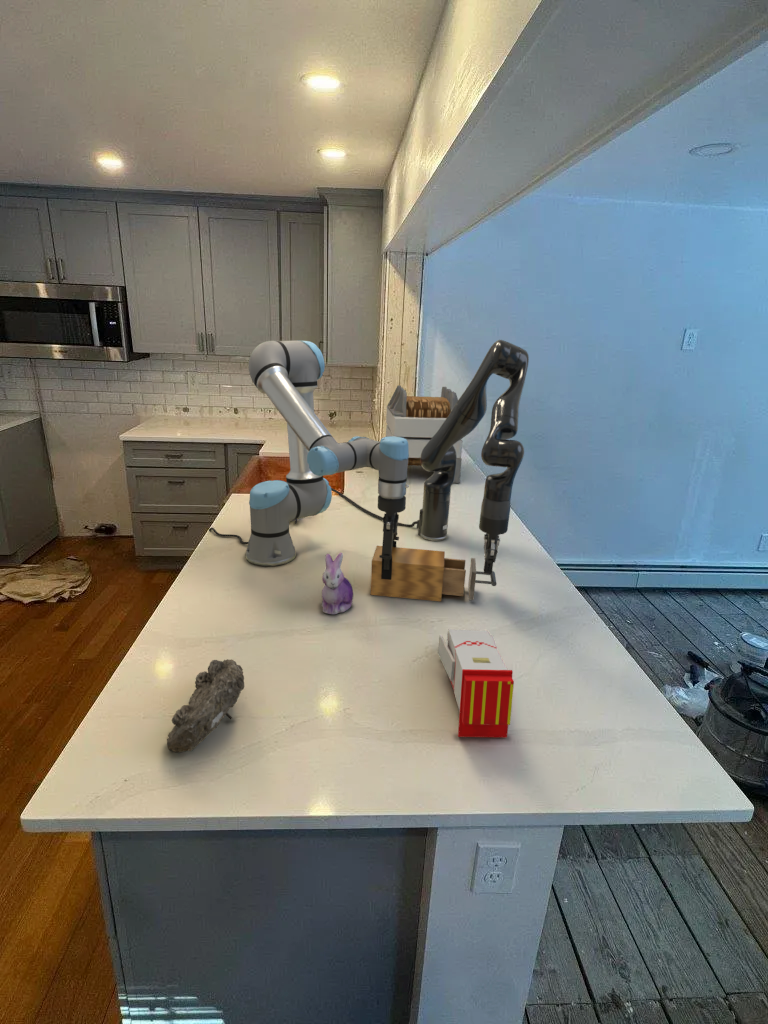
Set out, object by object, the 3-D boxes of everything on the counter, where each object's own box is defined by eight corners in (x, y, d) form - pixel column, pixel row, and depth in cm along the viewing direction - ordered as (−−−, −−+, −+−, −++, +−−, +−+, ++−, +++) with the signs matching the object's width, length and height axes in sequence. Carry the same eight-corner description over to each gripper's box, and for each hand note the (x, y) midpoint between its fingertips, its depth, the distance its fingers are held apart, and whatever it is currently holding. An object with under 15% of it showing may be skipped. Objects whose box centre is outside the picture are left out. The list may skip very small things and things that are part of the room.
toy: (488, 613, 130) (523, 677, 101) (484, 667, 133) (517, 744, 104) (435, 612, 130) (455, 676, 101) (432, 666, 133) (451, 743, 103)
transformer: (382, 463, 289) (386, 382, 275) (445, 464, 293) (451, 384, 279) (390, 482, 257) (394, 392, 243) (460, 483, 261) (468, 394, 247)
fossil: (192, 660, 117) (244, 628, 112) (224, 691, 120) (276, 661, 115) (142, 746, 98) (202, 712, 93) (182, 779, 101) (242, 748, 96)
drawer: (492, 586, 162) (496, 560, 159) (494, 602, 154) (498, 574, 151) (409, 579, 164) (411, 552, 162) (406, 593, 156) (408, 566, 153)
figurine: (327, 619, 143) (328, 565, 138) (313, 601, 152) (313, 549, 147) (361, 611, 147) (363, 559, 142) (345, 594, 156) (346, 544, 151)
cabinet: (441, 584, 164) (444, 551, 161) (441, 601, 155) (444, 566, 151) (375, 578, 166) (376, 545, 163) (370, 594, 157) (371, 560, 153)
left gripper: (402, 510, 141) (397, 590, 148) (409, 484, 162) (405, 554, 170) (372, 508, 141) (369, 587, 149) (383, 482, 163) (380, 552, 170)
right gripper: (511, 523, 143) (503, 585, 149) (507, 506, 156) (499, 563, 162) (481, 521, 144) (474, 582, 150) (479, 504, 156) (473, 561, 162)
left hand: (388, 570), depth 159 cm, fingers closed on cabinet, 10 cm apart
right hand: (487, 572), depth 156 cm, fingers closed
